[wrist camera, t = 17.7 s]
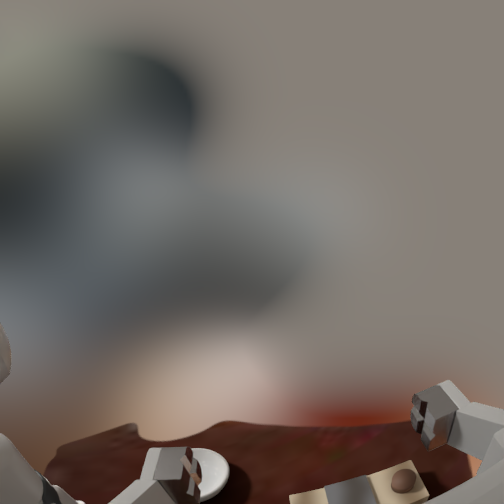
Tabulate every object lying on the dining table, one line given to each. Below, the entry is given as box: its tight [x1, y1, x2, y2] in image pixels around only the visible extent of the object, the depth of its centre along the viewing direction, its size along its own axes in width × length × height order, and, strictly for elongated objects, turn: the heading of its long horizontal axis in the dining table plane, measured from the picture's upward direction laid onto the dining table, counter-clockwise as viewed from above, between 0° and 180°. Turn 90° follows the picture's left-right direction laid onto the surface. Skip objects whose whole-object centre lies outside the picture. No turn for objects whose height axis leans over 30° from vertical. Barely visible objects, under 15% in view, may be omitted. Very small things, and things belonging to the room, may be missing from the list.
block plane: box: [289, 460, 429, 504], centre depth 29 cm, size 17×7×6 cm, turn 92°
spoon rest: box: [191, 448, 229, 502], centre depth 35 cm, size 24×12×7 cm, turn 139°
